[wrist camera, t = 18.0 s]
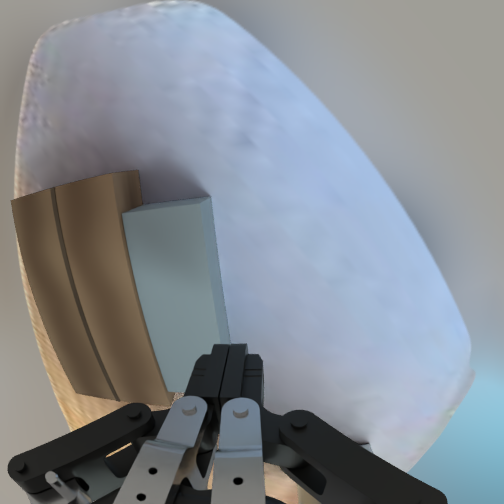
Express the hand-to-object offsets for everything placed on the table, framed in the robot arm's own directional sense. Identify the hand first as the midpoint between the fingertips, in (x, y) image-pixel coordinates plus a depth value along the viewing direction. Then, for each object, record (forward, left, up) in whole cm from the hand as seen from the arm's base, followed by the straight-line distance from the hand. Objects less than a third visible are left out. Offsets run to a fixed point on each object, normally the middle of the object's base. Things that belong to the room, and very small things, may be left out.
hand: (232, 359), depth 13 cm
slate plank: (+4, +1, -9) cm, 10 cm away
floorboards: (+12, 0, -9) cm, 15 cm away
